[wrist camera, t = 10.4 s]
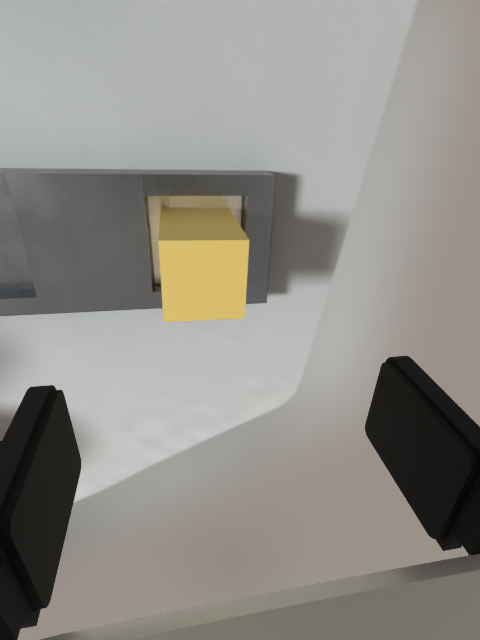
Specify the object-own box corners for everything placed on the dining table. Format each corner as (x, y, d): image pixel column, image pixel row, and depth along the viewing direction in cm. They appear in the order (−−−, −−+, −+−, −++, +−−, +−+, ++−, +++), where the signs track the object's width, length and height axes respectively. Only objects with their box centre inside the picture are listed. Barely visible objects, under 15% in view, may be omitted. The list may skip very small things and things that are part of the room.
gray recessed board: (-139, 167, 21) (-166, 171, 19) (268, 170, 25) (275, 175, 23) (-78, 306, 25) (-96, 320, 24) (260, 291, 29) (266, 302, 28)
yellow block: (160, 206, 24) (158, 240, 18) (228, 207, 25) (249, 240, 19) (164, 271, 26) (163, 321, 20) (226, 269, 27) (244, 318, 21)
